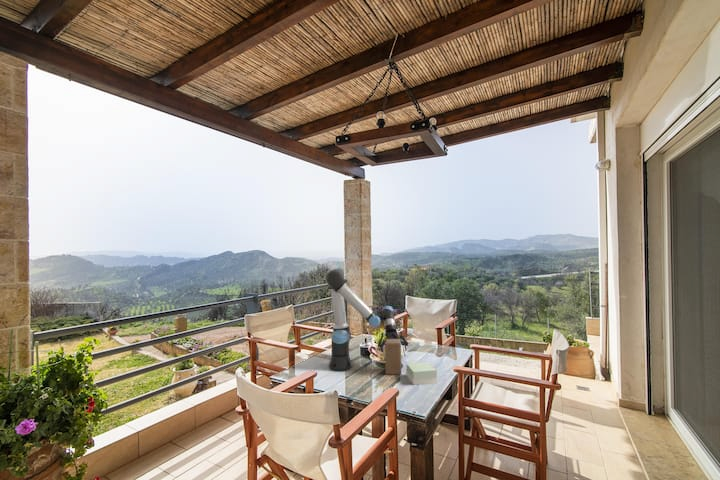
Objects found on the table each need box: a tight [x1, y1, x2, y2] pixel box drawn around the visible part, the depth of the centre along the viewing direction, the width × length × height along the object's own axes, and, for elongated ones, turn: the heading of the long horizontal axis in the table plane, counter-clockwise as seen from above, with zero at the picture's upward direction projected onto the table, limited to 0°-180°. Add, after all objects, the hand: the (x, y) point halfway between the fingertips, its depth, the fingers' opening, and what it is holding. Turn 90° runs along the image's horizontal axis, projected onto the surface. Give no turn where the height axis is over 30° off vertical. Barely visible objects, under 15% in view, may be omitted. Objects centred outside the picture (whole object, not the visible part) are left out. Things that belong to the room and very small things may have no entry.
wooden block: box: [384, 338, 402, 376], centre depth 208 cm, size 10×10×20 cm
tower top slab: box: [406, 361, 438, 379], centre depth 195 cm, size 14×14×4 cm
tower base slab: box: [405, 369, 438, 386], centre depth 196 cm, size 14×14×4 cm
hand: (394, 356), depth 207 cm, fingers open, 13 cm apart
